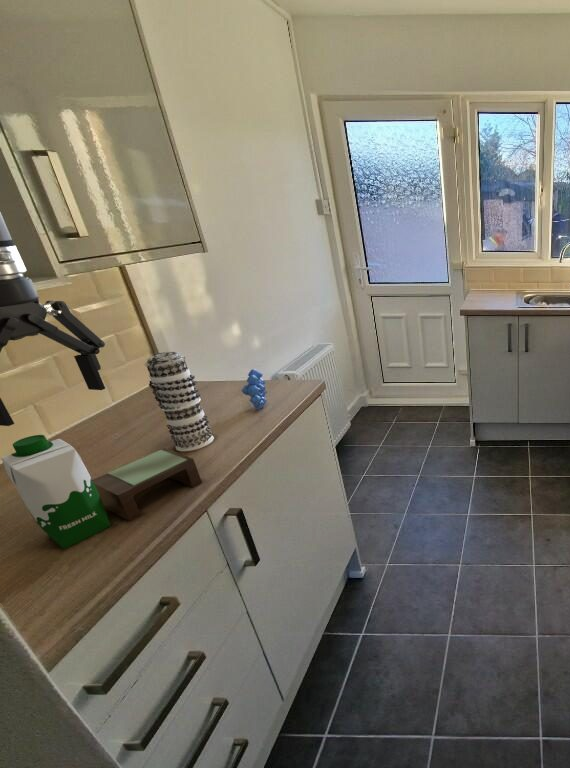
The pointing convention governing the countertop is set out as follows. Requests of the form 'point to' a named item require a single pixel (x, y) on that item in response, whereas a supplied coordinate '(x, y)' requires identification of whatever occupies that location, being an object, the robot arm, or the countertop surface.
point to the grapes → (255, 389)
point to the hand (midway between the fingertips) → (55, 405)
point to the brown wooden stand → (143, 480)
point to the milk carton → (56, 489)
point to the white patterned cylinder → (179, 401)
